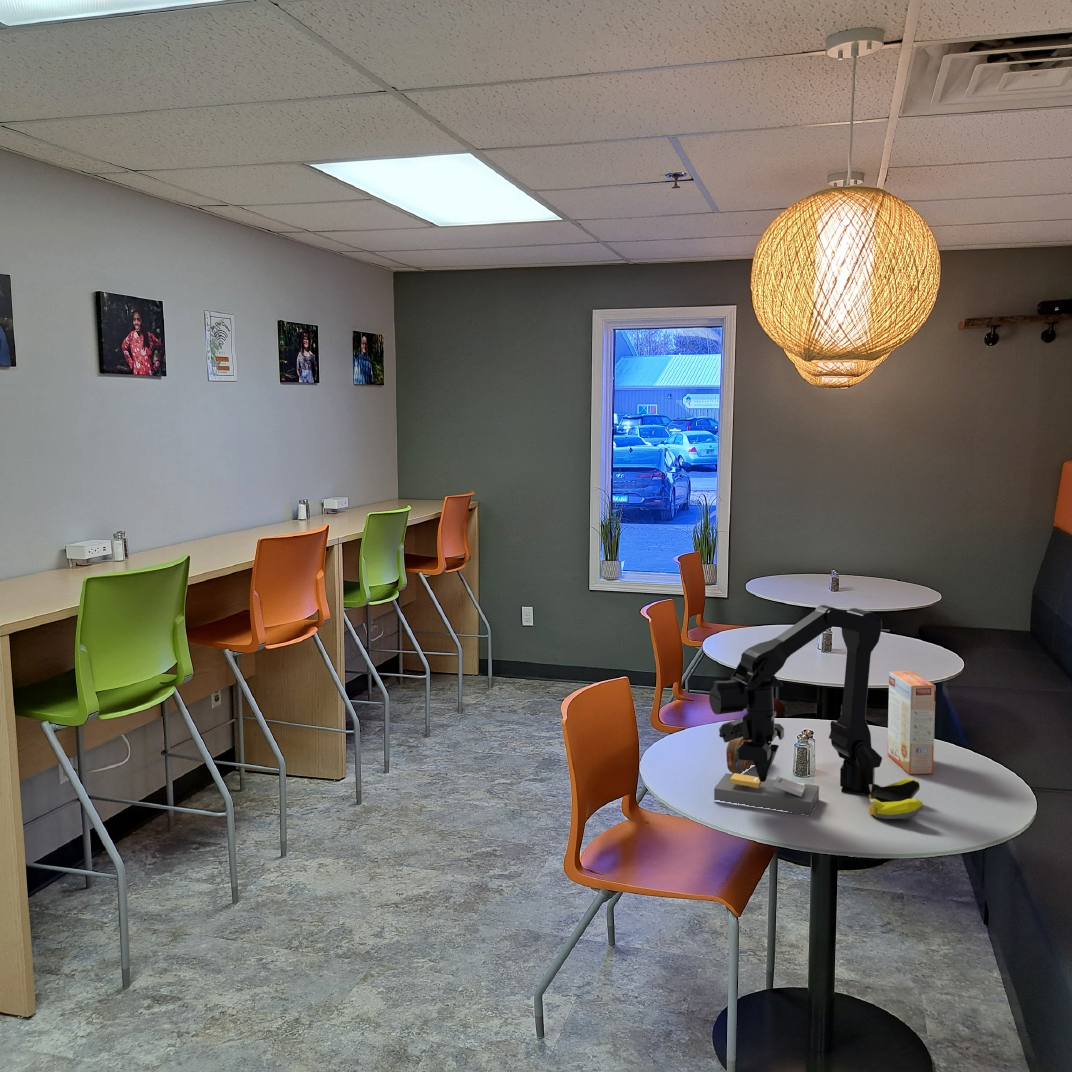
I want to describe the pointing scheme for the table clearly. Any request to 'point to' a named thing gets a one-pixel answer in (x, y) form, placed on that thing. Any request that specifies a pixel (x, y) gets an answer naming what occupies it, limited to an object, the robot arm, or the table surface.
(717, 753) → the table surface
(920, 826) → the table surface
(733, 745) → the tin
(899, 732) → the cracker box
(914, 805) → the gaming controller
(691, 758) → the table surface
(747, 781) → the block
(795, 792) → the grey rocker
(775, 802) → the rocker switch panel
